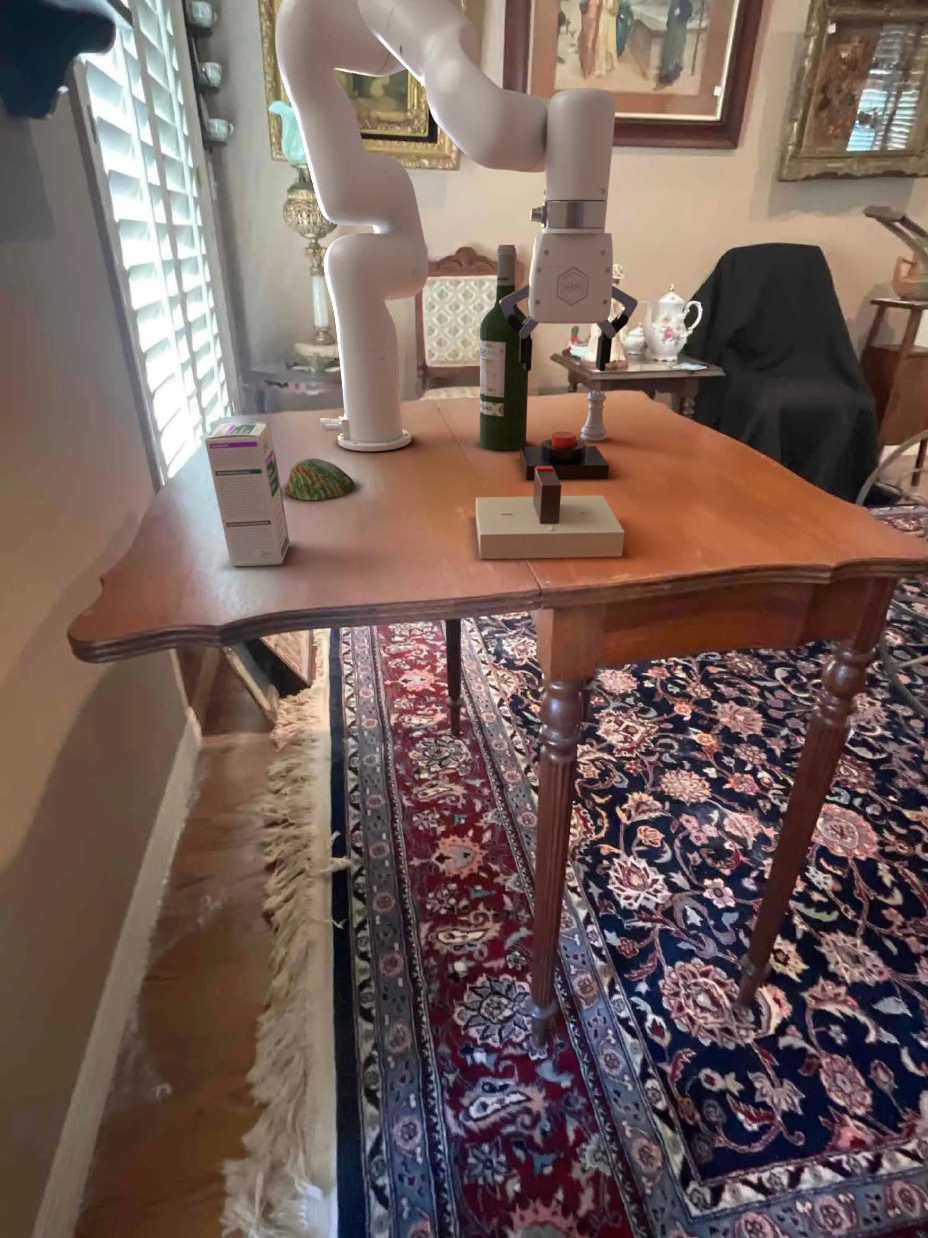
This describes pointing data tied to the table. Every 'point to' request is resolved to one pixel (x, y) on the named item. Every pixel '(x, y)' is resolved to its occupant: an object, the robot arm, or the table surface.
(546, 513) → the handle
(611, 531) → the panel
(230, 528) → the syrup box
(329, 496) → the seashell
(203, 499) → the table surface
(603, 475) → the button block
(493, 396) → the wine bottle
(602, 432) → the rook chess piece
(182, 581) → the table surface
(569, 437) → the button
